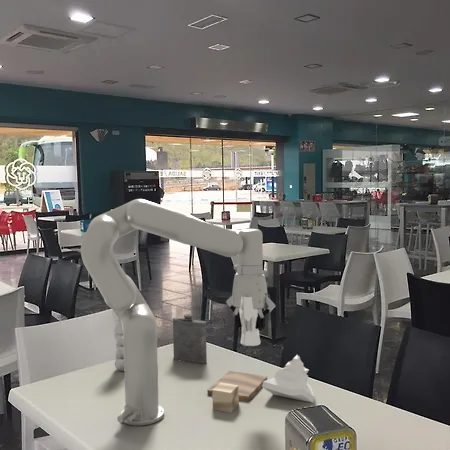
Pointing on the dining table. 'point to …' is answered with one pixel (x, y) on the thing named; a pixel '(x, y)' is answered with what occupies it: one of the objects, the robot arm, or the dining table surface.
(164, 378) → the dining table surface
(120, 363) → the plastic bottle
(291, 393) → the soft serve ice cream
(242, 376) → the serving board
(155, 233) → the robot arm
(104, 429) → the dining table surface
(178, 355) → the flask
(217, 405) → the beech block
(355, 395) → the dining table surface
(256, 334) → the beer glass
